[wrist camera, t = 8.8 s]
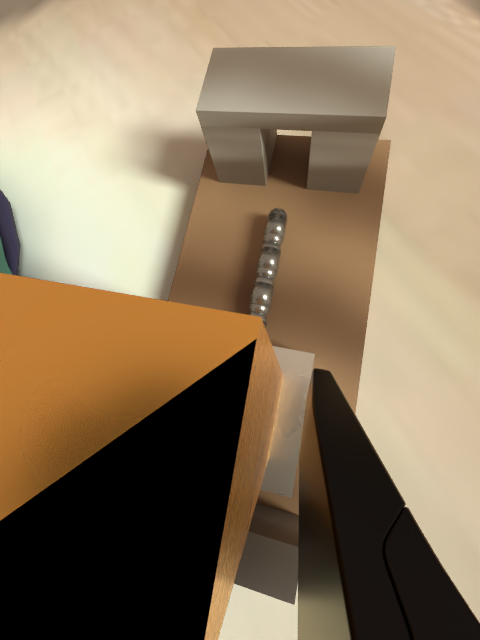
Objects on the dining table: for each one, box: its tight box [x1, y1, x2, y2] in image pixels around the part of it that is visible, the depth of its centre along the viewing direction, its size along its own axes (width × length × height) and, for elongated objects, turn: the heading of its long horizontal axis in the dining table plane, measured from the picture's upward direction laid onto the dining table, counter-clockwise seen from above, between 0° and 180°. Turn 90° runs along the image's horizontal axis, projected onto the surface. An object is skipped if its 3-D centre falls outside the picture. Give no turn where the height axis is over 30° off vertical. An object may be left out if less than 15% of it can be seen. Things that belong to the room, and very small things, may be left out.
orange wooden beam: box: [0, 208, 315, 640], centre depth 8 cm, size 11×5×11 cm, turn 168°
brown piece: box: [168, 46, 396, 604], centre depth 12 cm, size 19×9×6 cm, turn 168°
